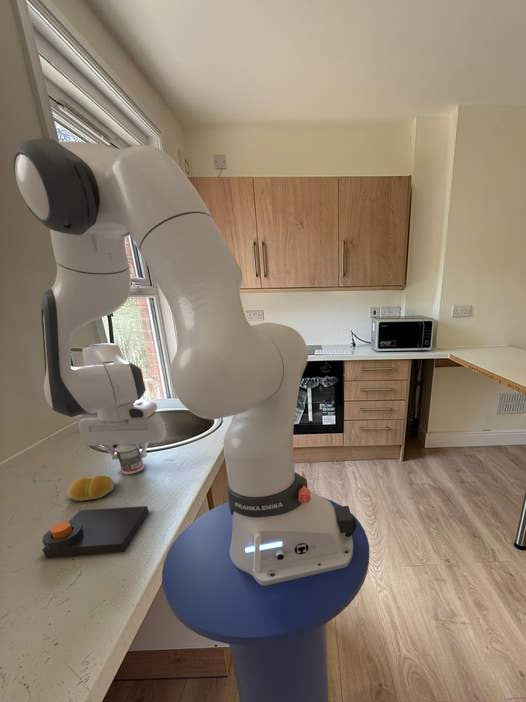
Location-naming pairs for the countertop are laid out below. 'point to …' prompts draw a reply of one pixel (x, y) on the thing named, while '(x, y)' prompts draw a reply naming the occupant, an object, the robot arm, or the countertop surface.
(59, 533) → the button
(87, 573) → the countertop surface
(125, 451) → the pill bottle
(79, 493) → the bread roll
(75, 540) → the scale
